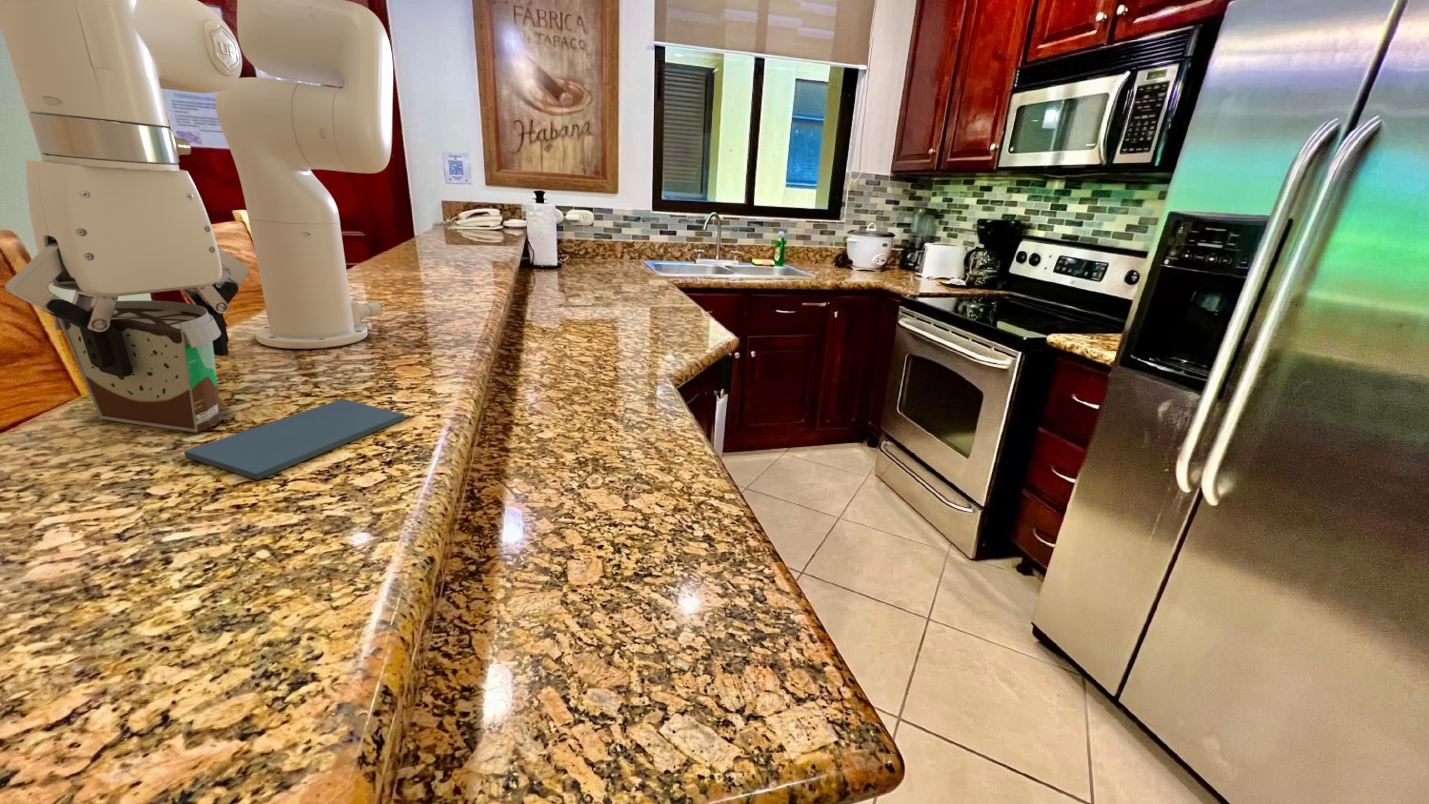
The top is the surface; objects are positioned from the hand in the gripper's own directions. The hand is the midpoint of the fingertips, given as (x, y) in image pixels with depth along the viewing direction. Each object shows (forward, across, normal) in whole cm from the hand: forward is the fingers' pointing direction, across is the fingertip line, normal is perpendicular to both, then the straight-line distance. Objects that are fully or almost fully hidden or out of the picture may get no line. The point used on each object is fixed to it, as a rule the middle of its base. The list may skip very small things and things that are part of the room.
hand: (168, 361), depth 50 cm
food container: (+5, 0, 0) cm, 5 cm away
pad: (+5, -2, +13) cm, 14 cm away
